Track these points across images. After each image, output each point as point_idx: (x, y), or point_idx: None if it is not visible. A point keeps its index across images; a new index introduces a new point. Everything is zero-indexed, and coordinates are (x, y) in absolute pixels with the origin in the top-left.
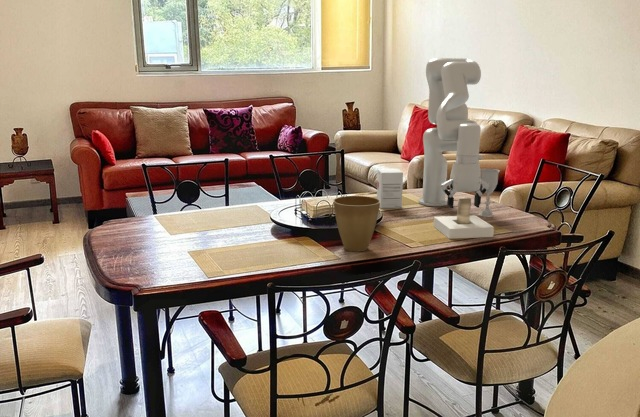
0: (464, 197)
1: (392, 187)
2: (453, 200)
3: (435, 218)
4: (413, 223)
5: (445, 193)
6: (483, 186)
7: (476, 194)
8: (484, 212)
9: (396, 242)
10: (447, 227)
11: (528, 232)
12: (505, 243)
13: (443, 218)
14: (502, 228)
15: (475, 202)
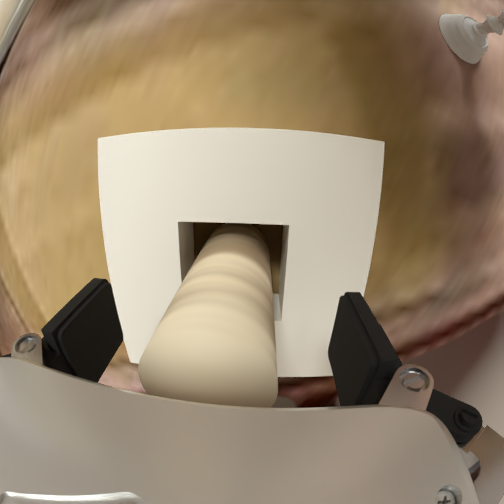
0: (222, 354)
1: None
2: (96, 380)
3: (99, 168)
4: (64, 96)
5: (7, 356)
6: (468, 459)
7: (371, 398)
8: (460, 36)
9: (16, 319)
10: (125, 340)
11: (473, 303)
12: (325, 401)
13: (137, 181)
14: (441, 240)
15: (342, 340)
